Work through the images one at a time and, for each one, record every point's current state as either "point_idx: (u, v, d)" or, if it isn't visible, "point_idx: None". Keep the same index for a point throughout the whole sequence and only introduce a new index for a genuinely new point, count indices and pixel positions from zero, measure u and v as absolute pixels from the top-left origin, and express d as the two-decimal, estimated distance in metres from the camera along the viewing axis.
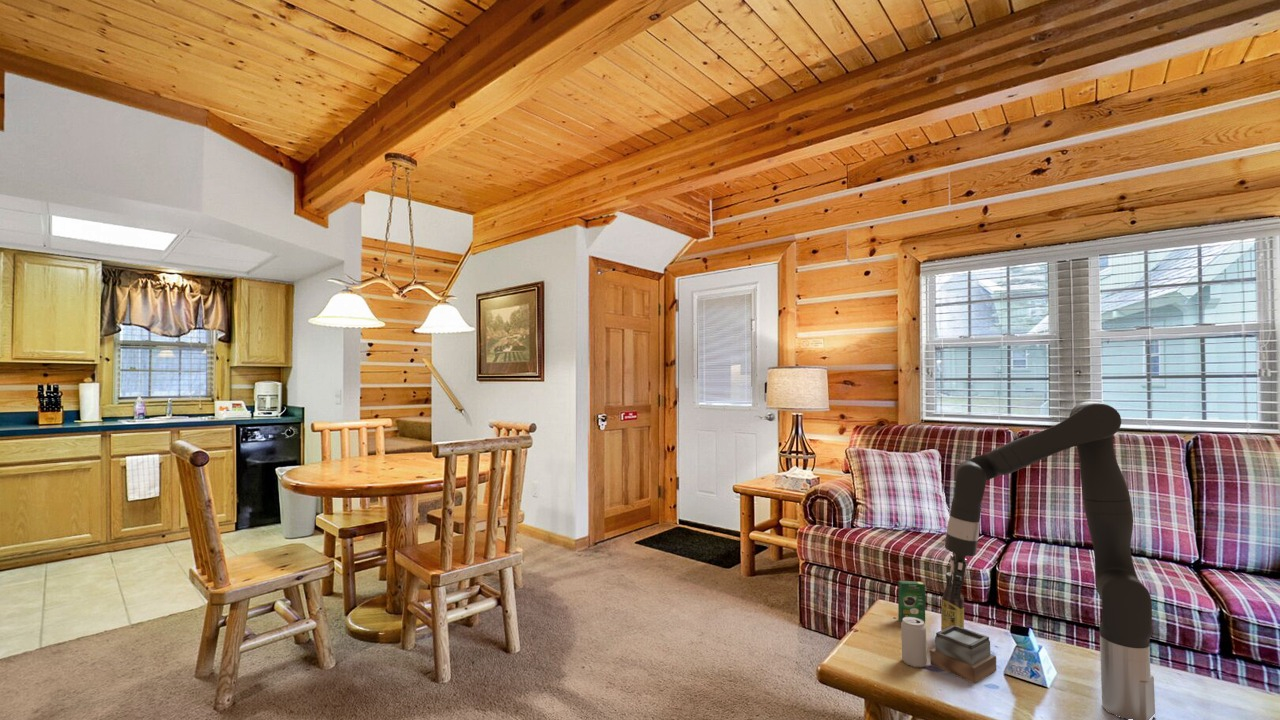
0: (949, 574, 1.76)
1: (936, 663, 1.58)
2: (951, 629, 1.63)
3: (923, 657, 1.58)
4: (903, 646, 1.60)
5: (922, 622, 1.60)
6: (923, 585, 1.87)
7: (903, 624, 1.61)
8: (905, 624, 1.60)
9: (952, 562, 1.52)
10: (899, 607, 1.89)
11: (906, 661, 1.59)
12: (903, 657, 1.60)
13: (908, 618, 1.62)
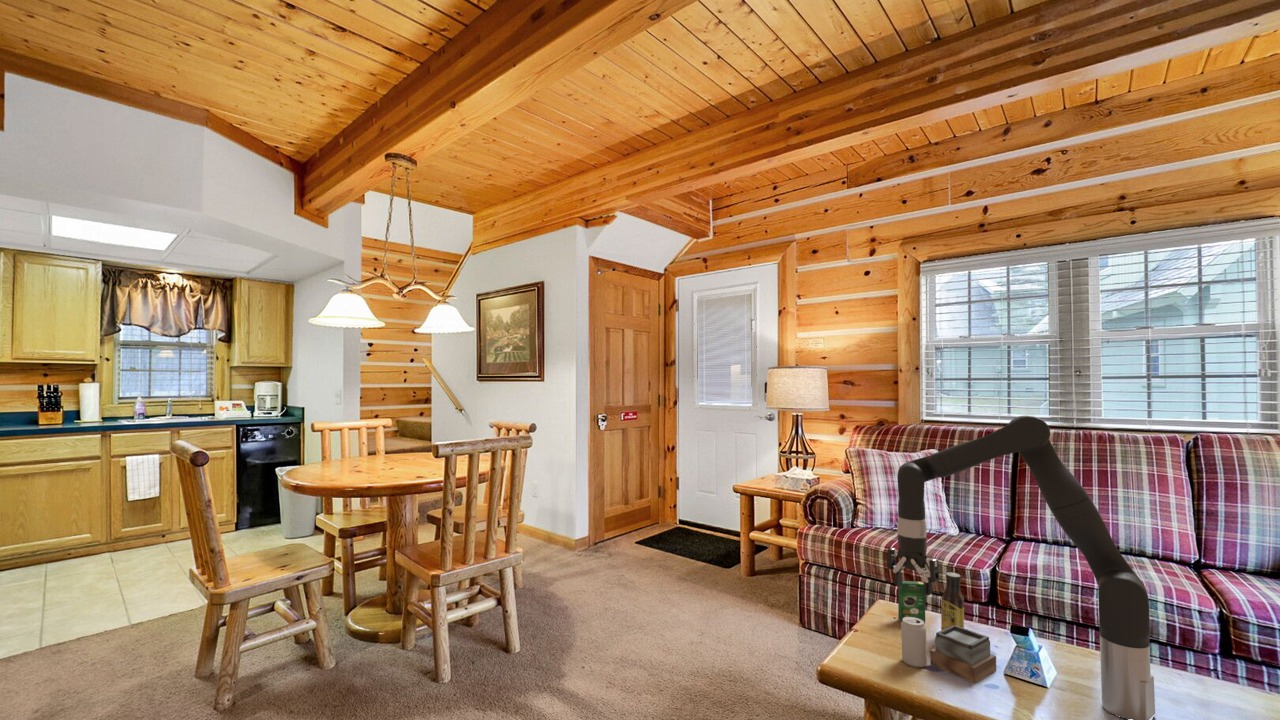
0: (949, 574, 1.76)
1: (936, 663, 1.58)
2: (951, 629, 1.63)
3: (923, 657, 1.58)
4: (903, 646, 1.60)
5: (922, 622, 1.60)
6: (923, 585, 1.87)
7: (903, 624, 1.61)
8: (905, 624, 1.60)
9: (916, 562, 1.59)
10: (899, 607, 1.89)
11: (906, 661, 1.59)
12: (903, 657, 1.60)
13: (908, 618, 1.62)
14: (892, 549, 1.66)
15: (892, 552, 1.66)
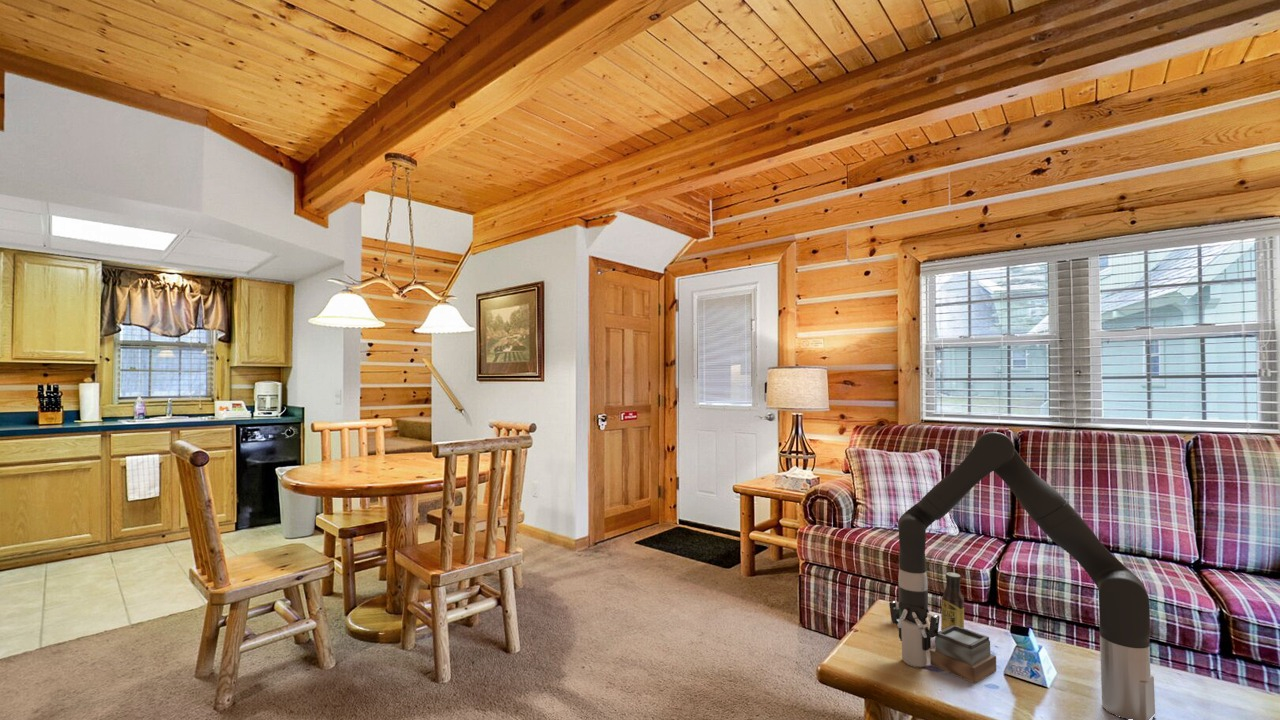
0: (949, 574, 1.76)
1: (936, 663, 1.58)
2: (951, 629, 1.63)
3: (923, 657, 1.58)
4: (903, 646, 1.60)
5: (922, 622, 1.60)
6: None
7: (903, 624, 1.61)
8: (905, 624, 1.60)
9: (917, 616, 1.58)
10: None
11: (906, 661, 1.59)
12: (903, 657, 1.60)
13: None
14: (893, 602, 1.65)
15: (894, 605, 1.65)
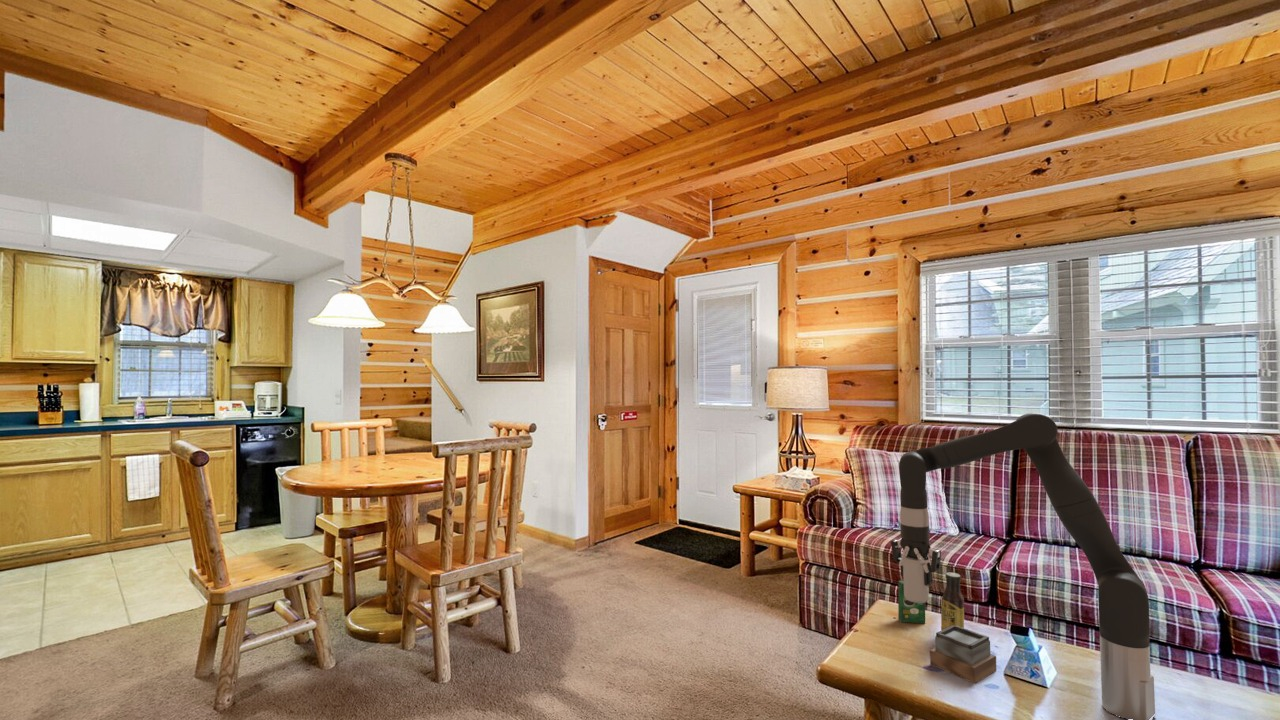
0: (949, 574, 1.76)
1: (936, 663, 1.58)
2: (951, 629, 1.63)
3: (925, 593, 1.58)
4: (905, 583, 1.61)
5: (924, 558, 1.60)
6: None
7: (905, 561, 1.61)
8: (907, 561, 1.60)
9: (919, 552, 1.59)
10: (899, 607, 1.89)
11: (908, 597, 1.59)
12: (905, 594, 1.61)
13: None
14: (895, 541, 1.66)
15: (895, 544, 1.65)
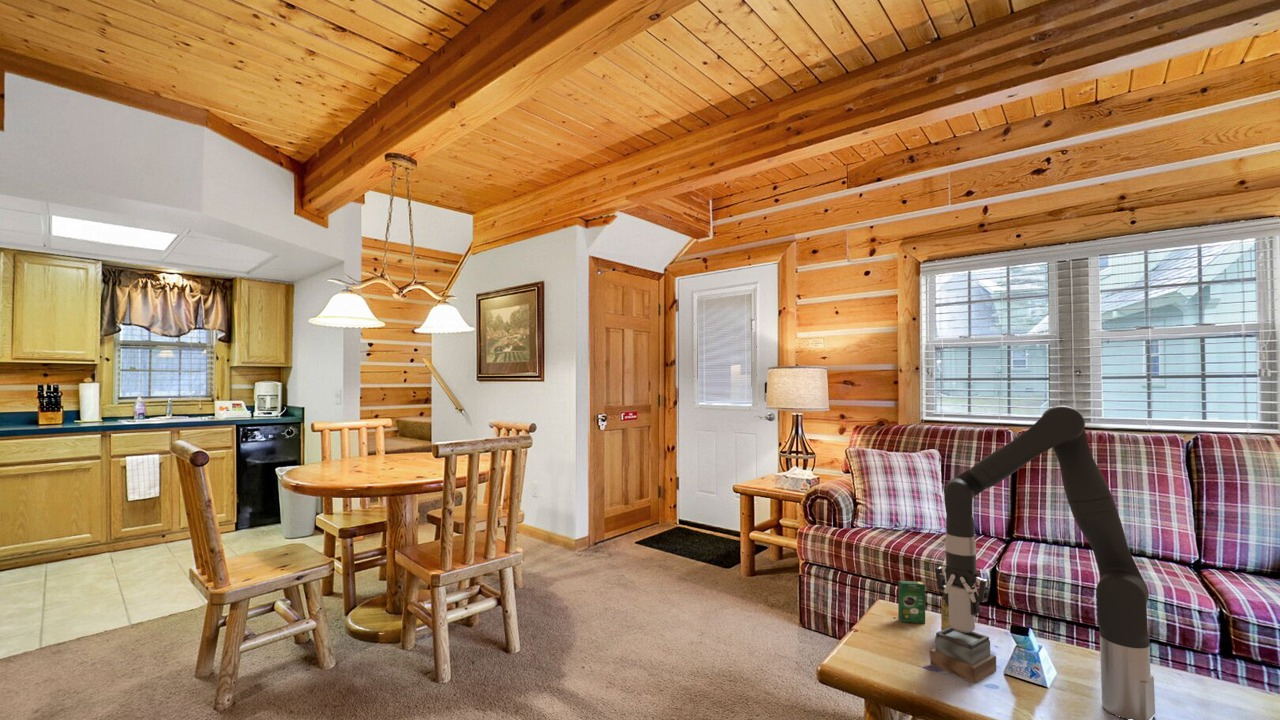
0: None
1: (936, 663, 1.58)
2: (951, 629, 1.63)
3: (972, 622, 1.56)
4: (950, 611, 1.58)
5: (970, 587, 1.58)
6: (923, 585, 1.87)
7: (951, 589, 1.59)
8: (953, 589, 1.58)
9: (966, 581, 1.56)
10: (899, 607, 1.89)
11: (954, 626, 1.57)
12: (950, 622, 1.58)
13: None
14: (939, 568, 1.63)
15: (940, 571, 1.63)
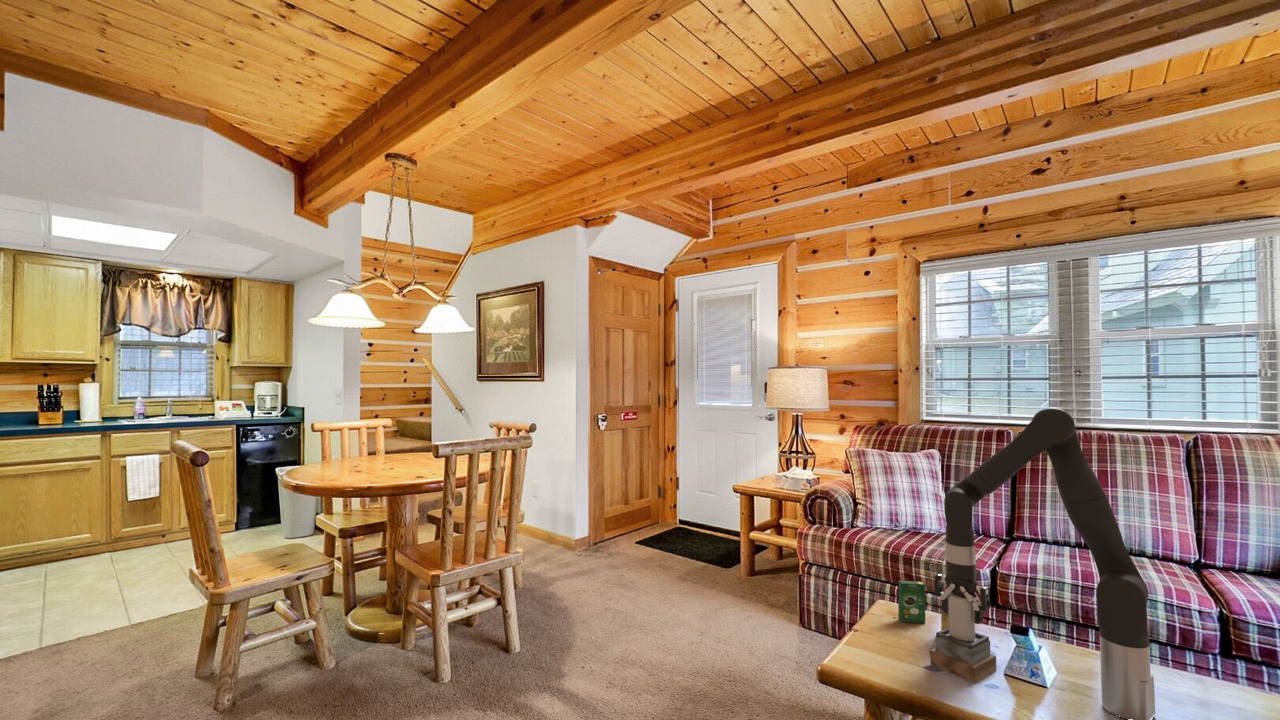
0: None
1: (936, 663, 1.58)
2: None
3: (972, 632, 1.55)
4: (951, 621, 1.58)
5: None
6: (923, 585, 1.87)
7: (951, 599, 1.58)
8: (953, 599, 1.58)
9: (966, 590, 1.56)
10: (899, 607, 1.89)
11: (954, 636, 1.57)
12: (951, 632, 1.58)
13: None
14: (939, 575, 1.63)
15: (939, 578, 1.63)
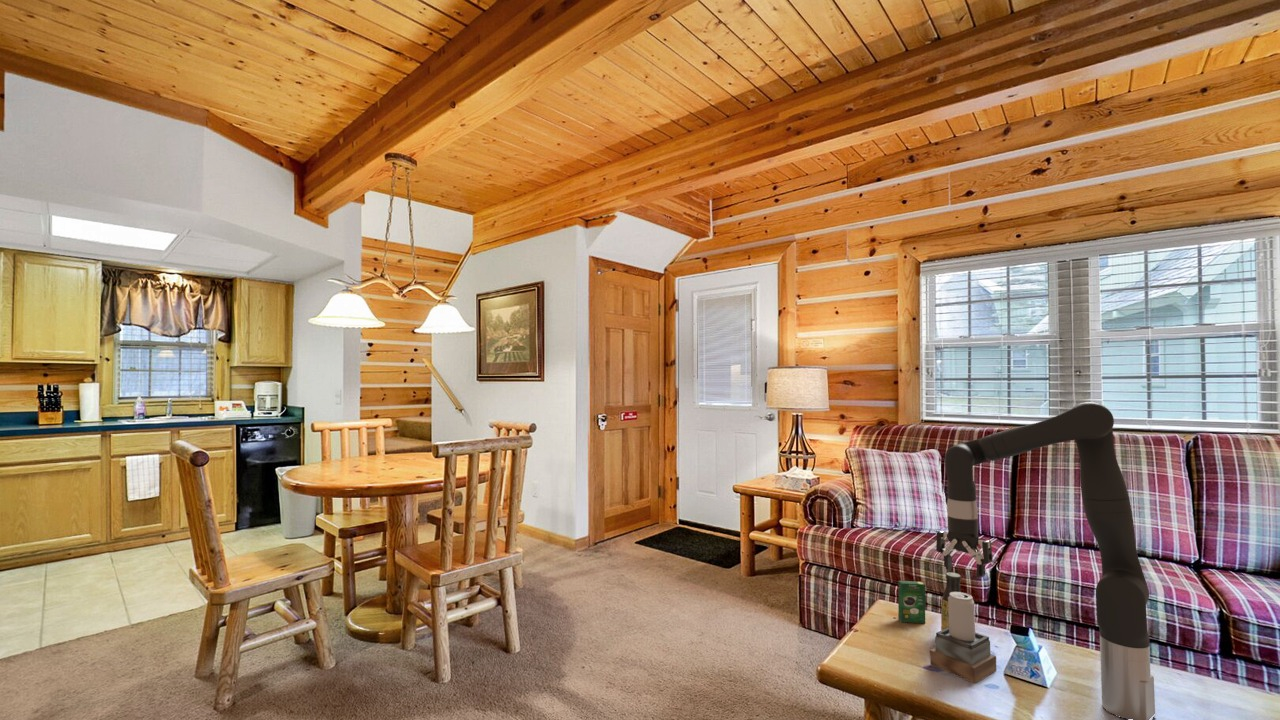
0: (949, 574, 1.76)
1: (936, 663, 1.58)
2: None
3: (972, 632, 1.55)
4: (951, 621, 1.58)
5: (970, 596, 1.58)
6: (923, 585, 1.87)
7: (951, 599, 1.58)
8: (953, 598, 1.58)
9: (968, 544, 1.57)
10: (899, 607, 1.89)
11: (954, 636, 1.57)
12: (951, 632, 1.58)
13: (955, 593, 1.60)
14: (941, 532, 1.64)
15: (941, 535, 1.64)
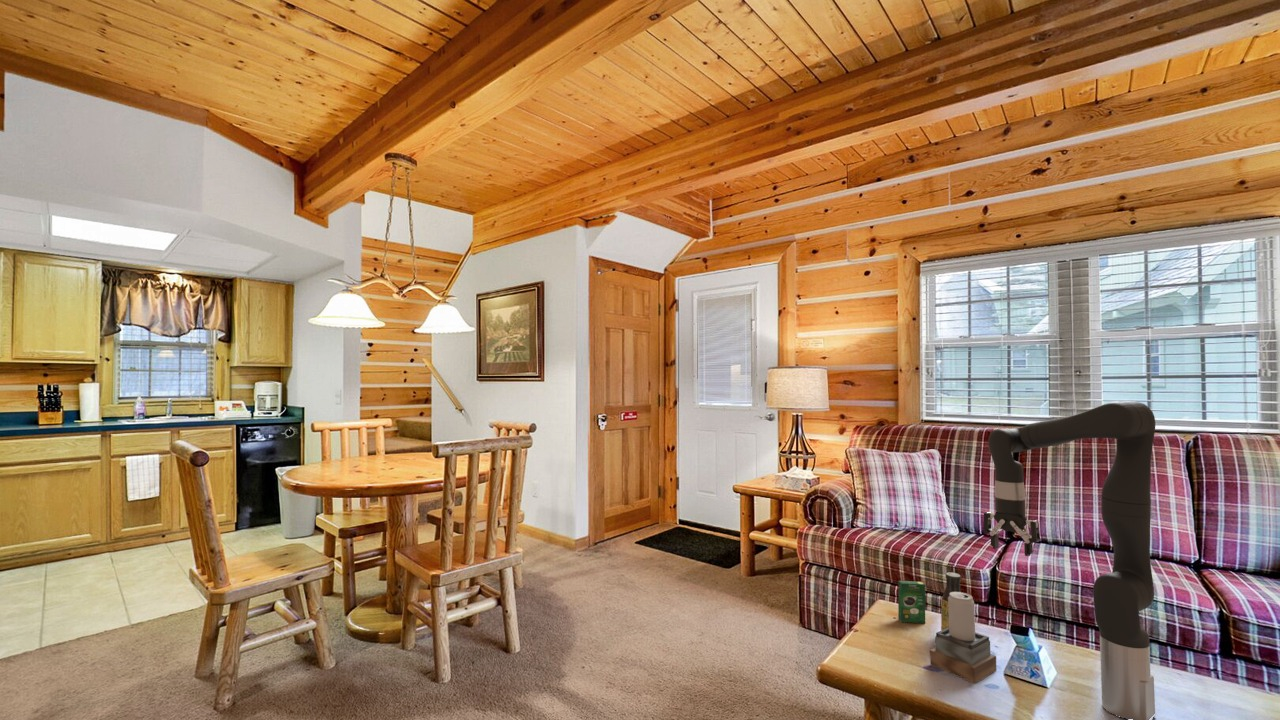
0: (949, 574, 1.76)
1: (936, 663, 1.58)
2: None
3: (972, 632, 1.55)
4: (951, 621, 1.58)
5: (970, 596, 1.58)
6: (923, 585, 1.87)
7: (951, 599, 1.58)
8: (953, 599, 1.58)
9: (1016, 524, 1.63)
10: (899, 607, 1.89)
11: (954, 636, 1.57)
12: (951, 632, 1.58)
13: (955, 593, 1.60)
14: (988, 513, 1.70)
15: (988, 516, 1.70)
